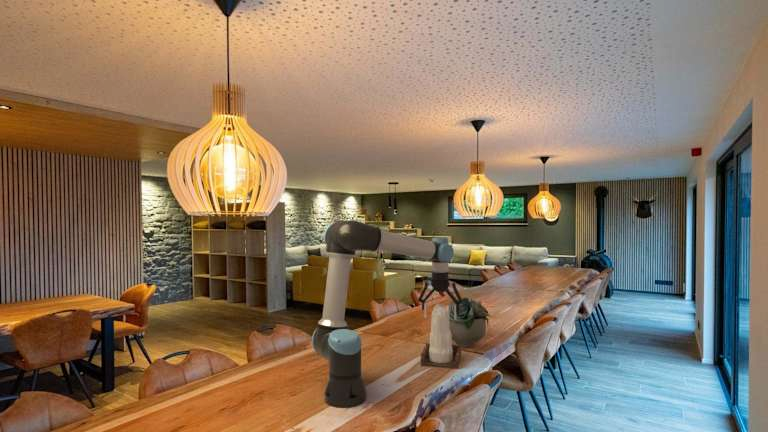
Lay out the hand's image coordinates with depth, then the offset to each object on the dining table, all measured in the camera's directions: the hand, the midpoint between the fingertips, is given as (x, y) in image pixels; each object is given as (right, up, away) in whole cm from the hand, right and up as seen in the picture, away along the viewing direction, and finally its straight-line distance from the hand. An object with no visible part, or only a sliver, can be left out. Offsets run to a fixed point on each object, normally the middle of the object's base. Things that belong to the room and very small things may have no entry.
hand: (440, 318), depth 186 cm
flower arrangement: (+16, -20, +24) cm, 35 cm away
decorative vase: (0, -19, 0) cm, 19 cm away
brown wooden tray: (+1, -20, 0) cm, 20 cm away
